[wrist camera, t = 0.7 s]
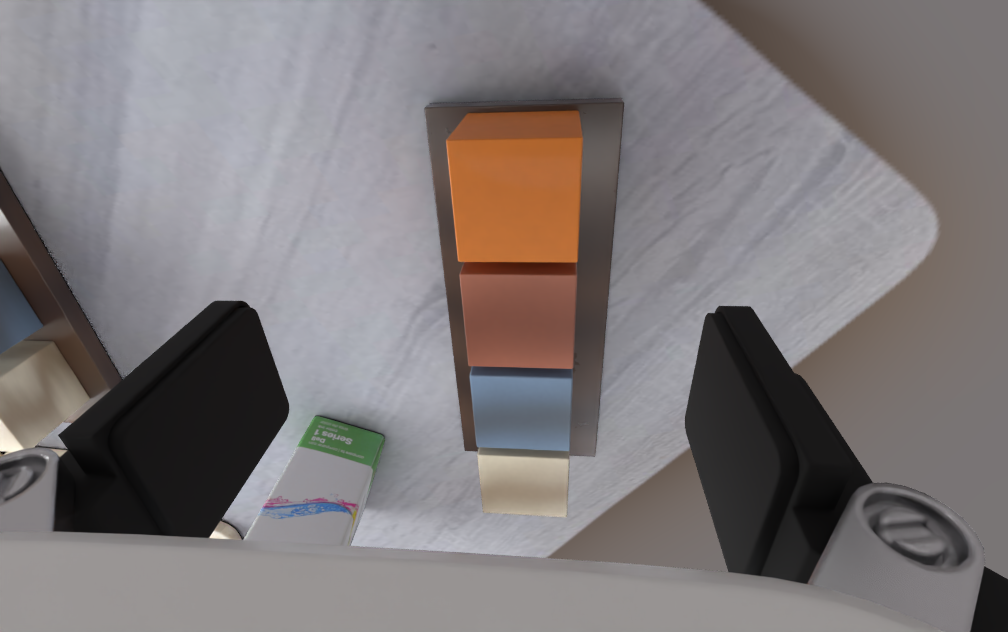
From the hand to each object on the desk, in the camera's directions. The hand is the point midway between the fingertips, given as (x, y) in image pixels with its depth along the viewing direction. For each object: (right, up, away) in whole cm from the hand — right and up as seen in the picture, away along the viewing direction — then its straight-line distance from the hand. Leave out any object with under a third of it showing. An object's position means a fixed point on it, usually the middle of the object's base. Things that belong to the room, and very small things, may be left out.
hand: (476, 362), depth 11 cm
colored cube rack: (+2, +2, +16) cm, 16 cm away
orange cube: (+1, +7, +11) cm, 13 cm away
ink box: (-11, -9, +24) cm, 28 cm away
